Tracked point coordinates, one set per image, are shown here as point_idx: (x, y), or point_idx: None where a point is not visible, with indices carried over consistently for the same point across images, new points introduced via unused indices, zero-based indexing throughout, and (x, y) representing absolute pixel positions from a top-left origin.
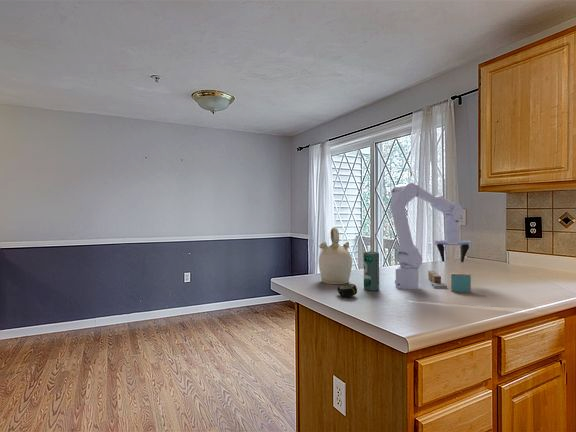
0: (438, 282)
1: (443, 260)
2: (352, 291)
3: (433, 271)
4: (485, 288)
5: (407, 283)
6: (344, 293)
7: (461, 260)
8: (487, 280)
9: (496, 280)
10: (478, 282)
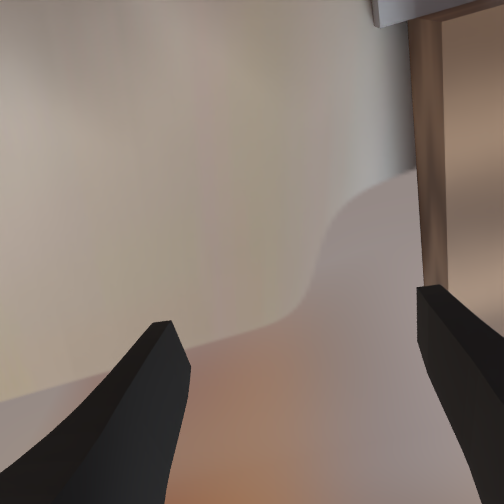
0: (447, 8)
1: (438, 295)
2: None
3: None
4: (10, 71)
5: None
6: None
7: (172, 350)
8: (71, 364)
9: (26, 377)
10: (109, 290)
